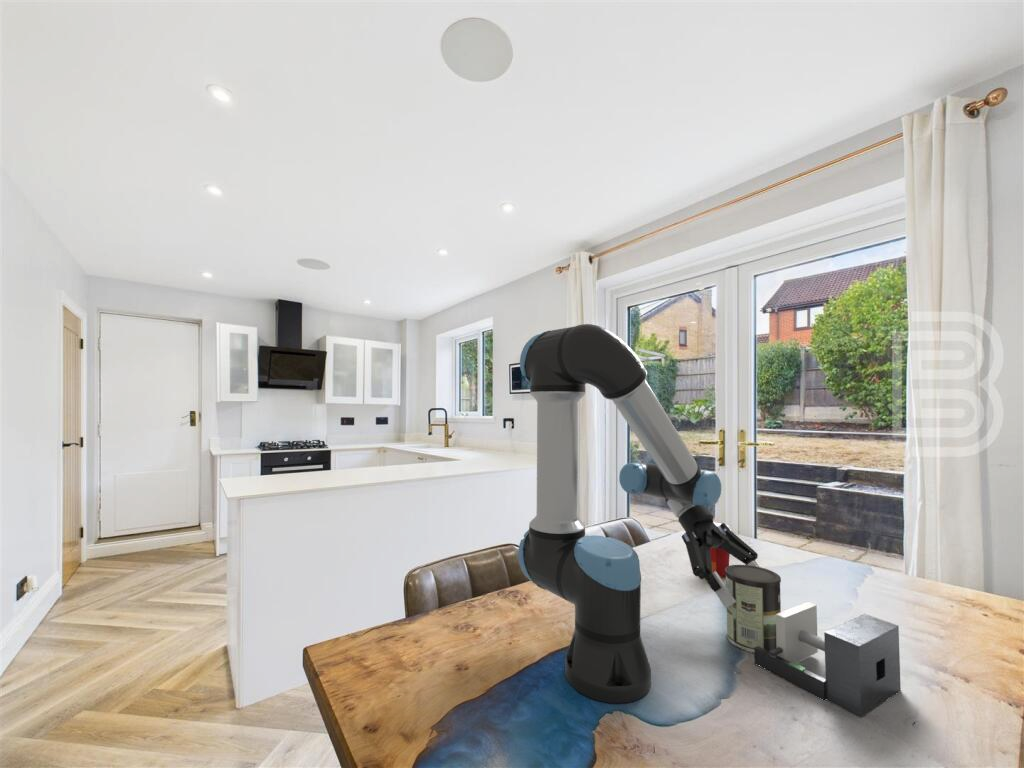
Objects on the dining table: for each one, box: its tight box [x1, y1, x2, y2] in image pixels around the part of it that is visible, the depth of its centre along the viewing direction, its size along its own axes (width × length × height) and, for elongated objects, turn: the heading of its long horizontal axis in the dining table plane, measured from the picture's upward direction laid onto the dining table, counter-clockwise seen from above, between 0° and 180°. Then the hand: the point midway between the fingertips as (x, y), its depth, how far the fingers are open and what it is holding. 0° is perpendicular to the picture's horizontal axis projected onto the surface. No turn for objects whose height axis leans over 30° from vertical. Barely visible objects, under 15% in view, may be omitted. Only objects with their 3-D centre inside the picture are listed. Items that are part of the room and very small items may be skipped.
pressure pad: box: [769, 601, 825, 664], centre depth 80 cm, size 11×14×9 cm
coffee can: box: [725, 564, 782, 654], centre depth 93 cm, size 10×10×14 cm
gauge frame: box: [753, 613, 902, 719], centre depth 81 cm, size 17×15×11 cm
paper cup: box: [711, 522, 731, 578], centre depth 130 cm, size 8×8×14 cm
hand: (751, 598), depth 95 cm, fingers open, 13 cm apart
